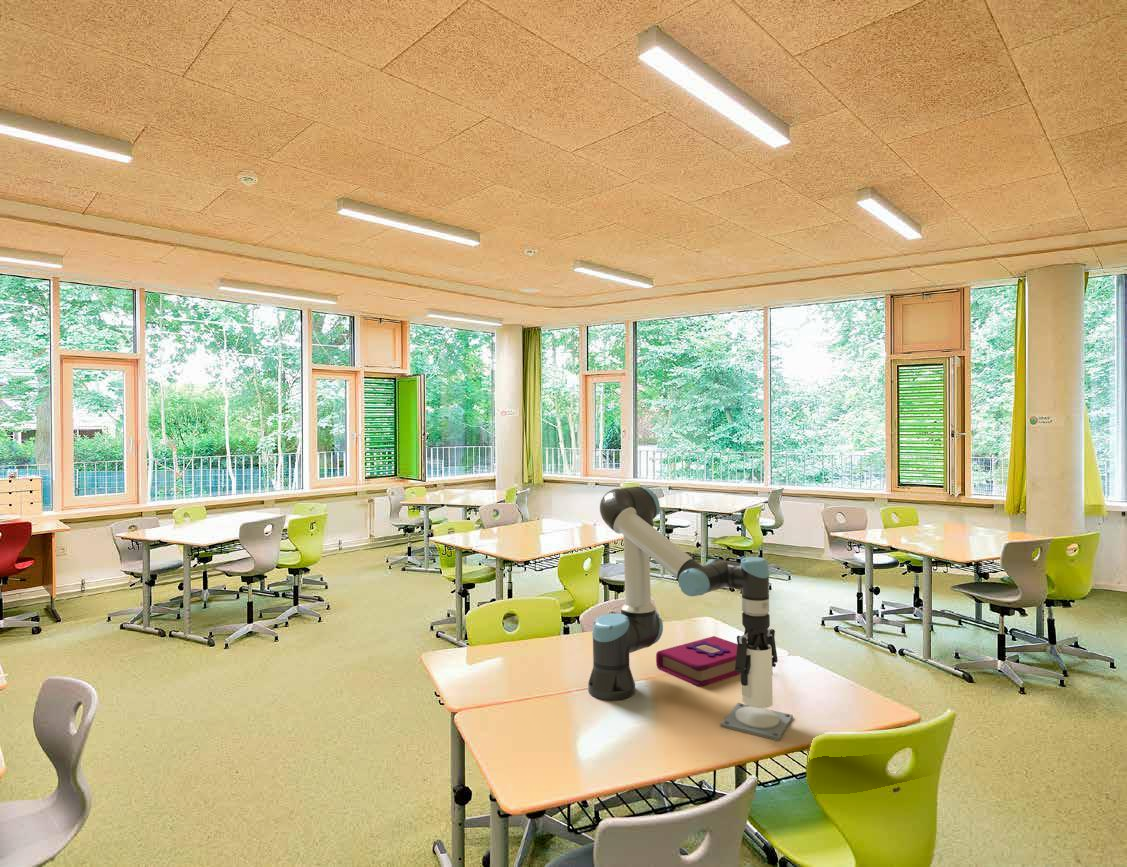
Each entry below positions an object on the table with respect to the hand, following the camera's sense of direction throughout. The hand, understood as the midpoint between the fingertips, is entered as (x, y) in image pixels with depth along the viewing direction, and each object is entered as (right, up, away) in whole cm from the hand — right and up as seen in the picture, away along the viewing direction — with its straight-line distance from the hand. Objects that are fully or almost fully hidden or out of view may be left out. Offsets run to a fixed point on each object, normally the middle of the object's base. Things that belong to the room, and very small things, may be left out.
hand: (757, 692), depth 179 cm
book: (-5, -9, +41) cm, 43 cm away
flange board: (0, -8, 0) cm, 8 cm away
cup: (0, -3, 0) cm, 3 cm away
